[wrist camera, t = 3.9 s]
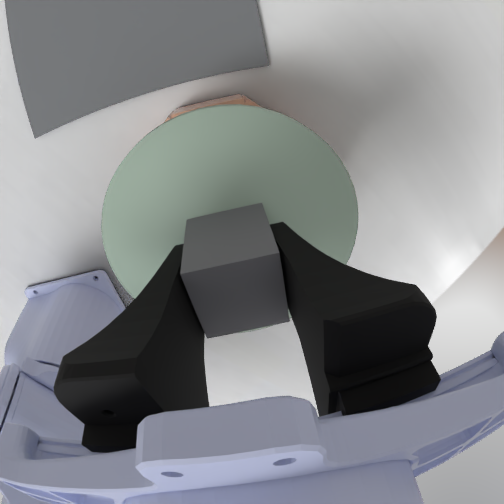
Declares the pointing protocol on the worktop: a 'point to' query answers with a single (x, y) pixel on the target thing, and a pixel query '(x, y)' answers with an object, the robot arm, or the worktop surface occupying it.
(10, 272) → the worktop surface
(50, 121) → the mat
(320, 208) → the lid
